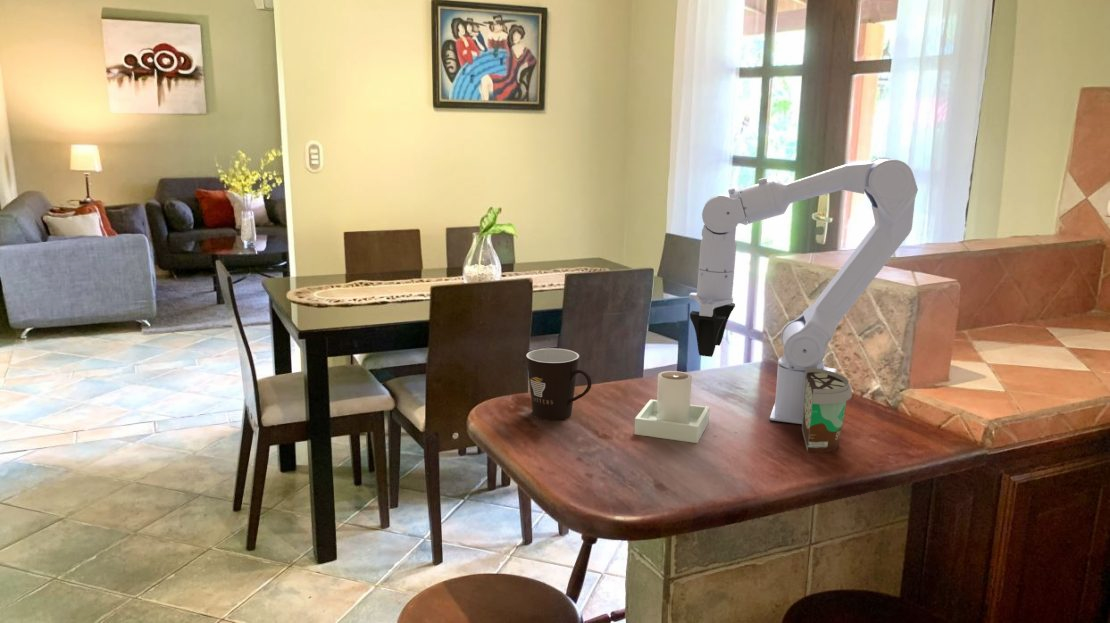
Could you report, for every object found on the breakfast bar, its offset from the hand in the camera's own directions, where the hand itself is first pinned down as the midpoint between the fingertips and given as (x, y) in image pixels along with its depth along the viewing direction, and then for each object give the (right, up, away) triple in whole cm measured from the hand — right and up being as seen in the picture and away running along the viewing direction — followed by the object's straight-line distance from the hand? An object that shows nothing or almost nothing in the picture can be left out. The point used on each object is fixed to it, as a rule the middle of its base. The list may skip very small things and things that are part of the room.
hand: (709, 350), depth 136 cm
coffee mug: (-26, -11, -2) cm, 28 cm away
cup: (-7, -11, -7) cm, 15 cm away
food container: (+15, -14, -12) cm, 24 cm away
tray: (-7, -12, -7) cm, 15 cm away
